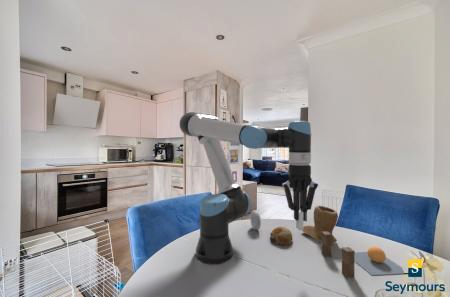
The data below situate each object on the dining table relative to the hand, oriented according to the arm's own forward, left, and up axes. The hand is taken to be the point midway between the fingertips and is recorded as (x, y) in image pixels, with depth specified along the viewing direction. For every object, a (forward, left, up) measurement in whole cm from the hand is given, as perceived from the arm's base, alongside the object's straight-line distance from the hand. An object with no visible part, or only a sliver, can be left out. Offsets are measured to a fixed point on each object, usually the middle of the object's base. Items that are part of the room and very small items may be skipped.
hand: (299, 228), depth 73 cm
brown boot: (+20, +21, -14) cm, 32 cm away
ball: (+30, 0, -11) cm, 32 cm away
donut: (-9, +33, -14) cm, 37 cm away
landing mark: (+29, 0, -14) cm, 32 cm away
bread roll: (0, +20, -14) cm, 25 cm away
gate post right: (+14, -6, -14) cm, 21 cm away
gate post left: (+14, +6, -14) cm, 21 cm away
